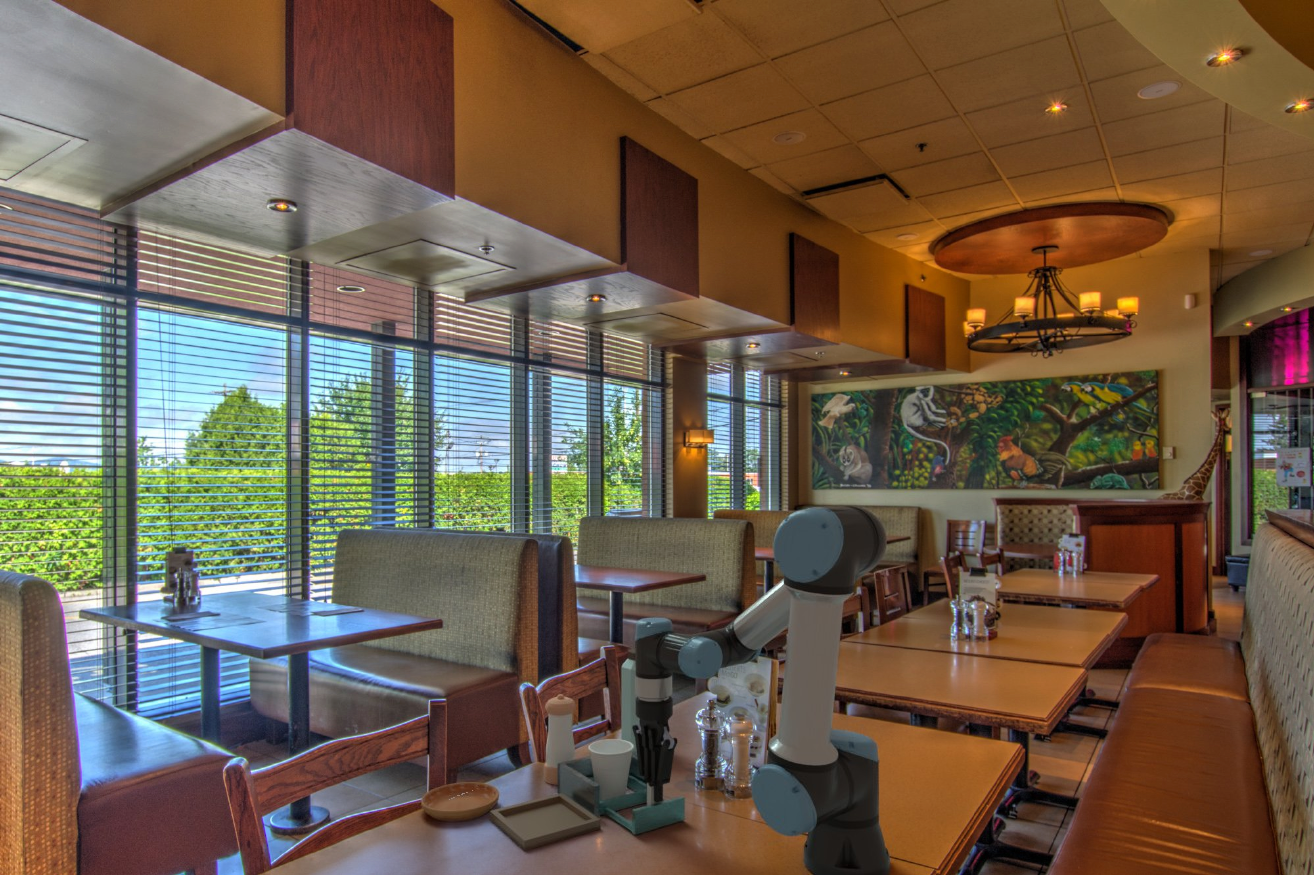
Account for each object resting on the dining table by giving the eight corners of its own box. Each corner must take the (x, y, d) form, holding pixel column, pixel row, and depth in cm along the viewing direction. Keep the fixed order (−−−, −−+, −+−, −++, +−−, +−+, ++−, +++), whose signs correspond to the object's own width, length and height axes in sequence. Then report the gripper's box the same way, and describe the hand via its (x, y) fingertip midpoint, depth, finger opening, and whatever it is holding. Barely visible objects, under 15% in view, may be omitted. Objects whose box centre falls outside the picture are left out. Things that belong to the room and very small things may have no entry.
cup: (627, 808, 171) (627, 755, 171) (582, 804, 173) (582, 752, 173) (638, 790, 180) (638, 740, 181) (595, 787, 182) (595, 737, 183)
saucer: (418, 801, 175) (418, 786, 176) (492, 790, 181) (492, 777, 181) (424, 831, 161) (424, 815, 161) (505, 819, 166) (505, 804, 166)
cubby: (662, 800, 175) (662, 769, 175) (594, 818, 165) (594, 786, 166) (623, 777, 188) (623, 748, 189) (557, 793, 179) (557, 763, 179)
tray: (600, 828, 161) (600, 819, 161) (524, 850, 152) (524, 840, 152) (561, 801, 174) (561, 792, 174) (489, 819, 165) (489, 810, 165)
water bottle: (616, 745, 210) (616, 647, 211) (653, 741, 213) (653, 645, 214) (626, 758, 201) (626, 656, 202) (665, 754, 204) (665, 653, 205)
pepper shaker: (579, 782, 185) (580, 696, 186) (548, 786, 183) (549, 700, 184) (571, 771, 192) (571, 689, 193) (540, 775, 189) (541, 692, 190)
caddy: (687, 819, 165) (687, 796, 165) (631, 836, 157) (631, 812, 157) (621, 780, 186) (621, 760, 186) (568, 793, 178) (568, 772, 178)
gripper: (688, 700, 161) (689, 822, 160) (651, 686, 171) (652, 801, 170) (656, 706, 156) (657, 832, 155) (621, 692, 167) (621, 809, 166)
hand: (654, 815), depth 163 cm, fingers closed
